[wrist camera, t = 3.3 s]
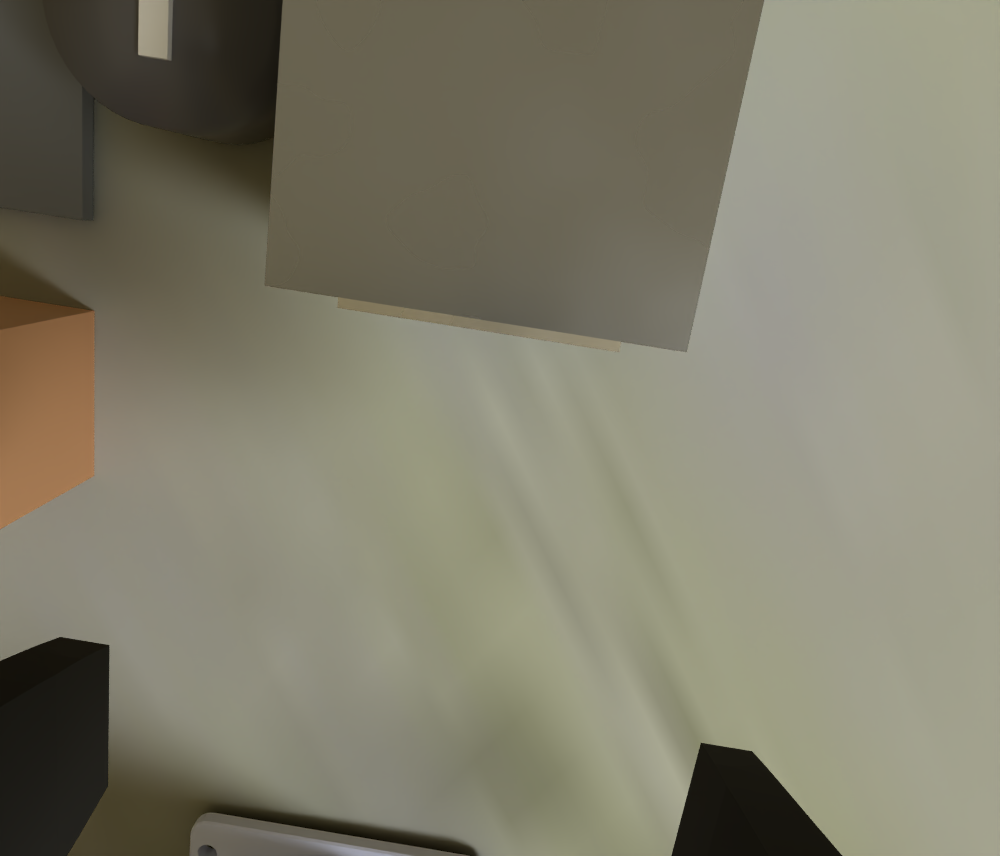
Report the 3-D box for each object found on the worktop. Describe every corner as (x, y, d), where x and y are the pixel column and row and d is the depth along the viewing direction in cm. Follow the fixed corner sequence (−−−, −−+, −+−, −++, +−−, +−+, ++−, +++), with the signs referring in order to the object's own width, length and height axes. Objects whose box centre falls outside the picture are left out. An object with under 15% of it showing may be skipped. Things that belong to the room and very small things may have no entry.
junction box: (650, 326, 16) (718, 393, 10) (343, 278, 16) (218, 314, 10) (746, -141, 14) (913, -441, 8) (386, -194, 14) (257, -532, 8)
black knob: (318, 158, 16) (265, 143, 13) (133, 129, 16) (37, 108, 13) (335, -54, 15) (281, -125, 12) (136, -84, 15) (32, -161, 12)
